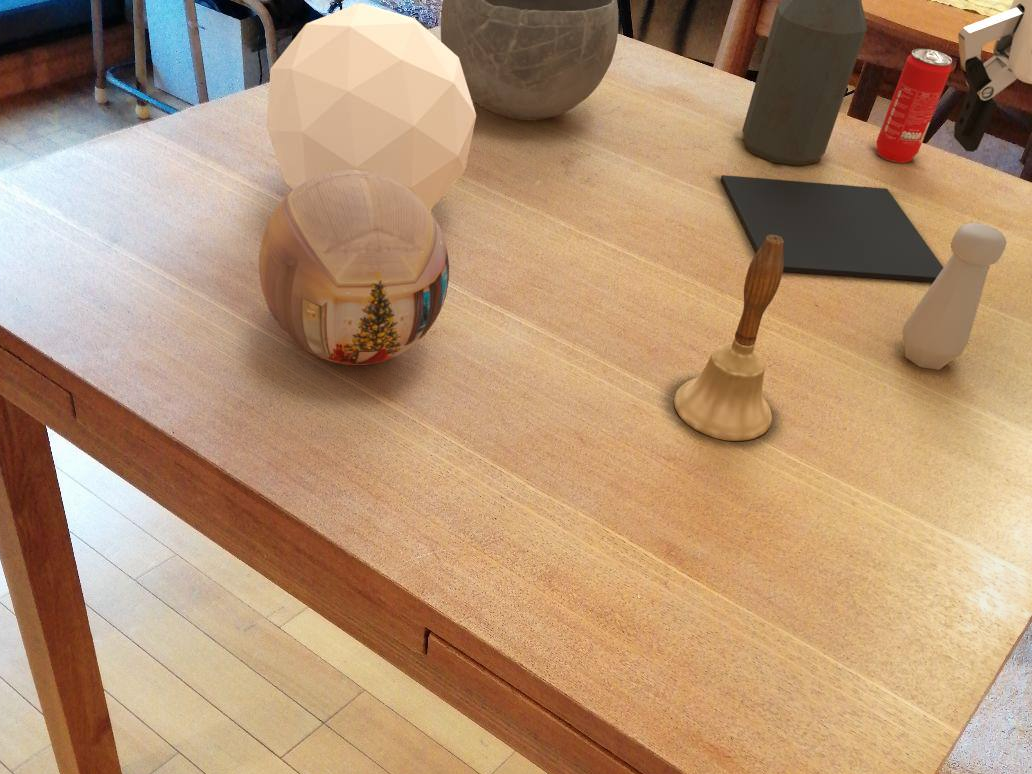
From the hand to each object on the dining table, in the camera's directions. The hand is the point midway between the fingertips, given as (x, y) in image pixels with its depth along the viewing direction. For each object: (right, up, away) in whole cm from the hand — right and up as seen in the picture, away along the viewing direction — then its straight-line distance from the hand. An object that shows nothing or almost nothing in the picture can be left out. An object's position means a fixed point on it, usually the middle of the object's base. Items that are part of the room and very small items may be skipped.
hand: (1019, 150), depth 88 cm
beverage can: (+8, +16, +48) cm, 51 cm away
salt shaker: (-2, -14, +14) cm, 20 cm away
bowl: (-39, +21, +45) cm, 63 cm away
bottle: (-7, +16, +45) cm, 49 cm away
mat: (-6, +2, +31) cm, 31 cm away
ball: (-55, +1, +21) cm, 59 cm away
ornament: (-54, -15, +4) cm, 57 cm away
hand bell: (-23, -21, +4) cm, 31 cm away
